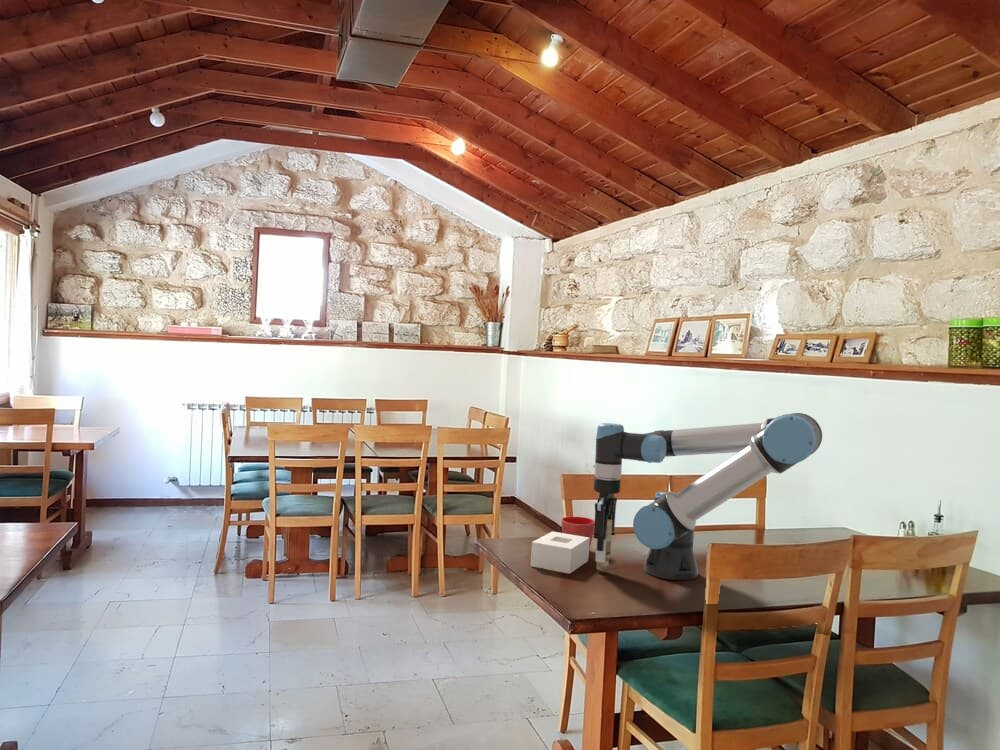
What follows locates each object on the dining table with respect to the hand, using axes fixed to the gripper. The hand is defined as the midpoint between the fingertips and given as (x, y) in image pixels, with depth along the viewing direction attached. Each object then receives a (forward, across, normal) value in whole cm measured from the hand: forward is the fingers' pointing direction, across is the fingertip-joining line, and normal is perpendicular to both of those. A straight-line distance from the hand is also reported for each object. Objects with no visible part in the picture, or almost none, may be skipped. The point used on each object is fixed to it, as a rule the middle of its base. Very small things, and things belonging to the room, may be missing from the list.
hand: (602, 559), depth 213 cm
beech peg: (+3, 0, 0) cm, 3 cm away
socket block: (+4, -1, -13) cm, 14 cm away
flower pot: (+4, -18, -14) cm, 23 cm away
